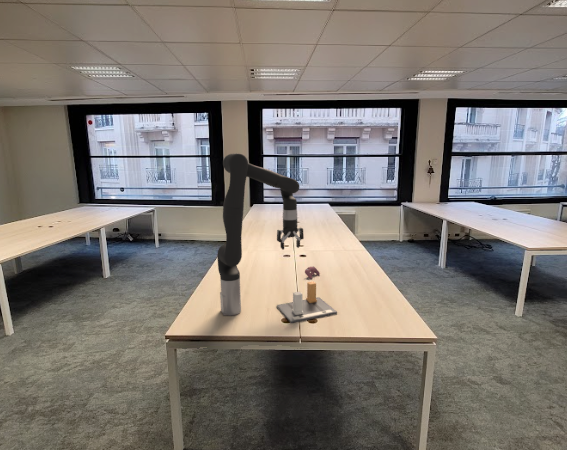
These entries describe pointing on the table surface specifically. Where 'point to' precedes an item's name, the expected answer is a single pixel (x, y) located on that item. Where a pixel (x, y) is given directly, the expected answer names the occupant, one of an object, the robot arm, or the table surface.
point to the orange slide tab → (311, 292)
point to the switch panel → (307, 310)
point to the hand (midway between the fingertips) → (290, 248)
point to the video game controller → (312, 270)
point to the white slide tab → (297, 303)
